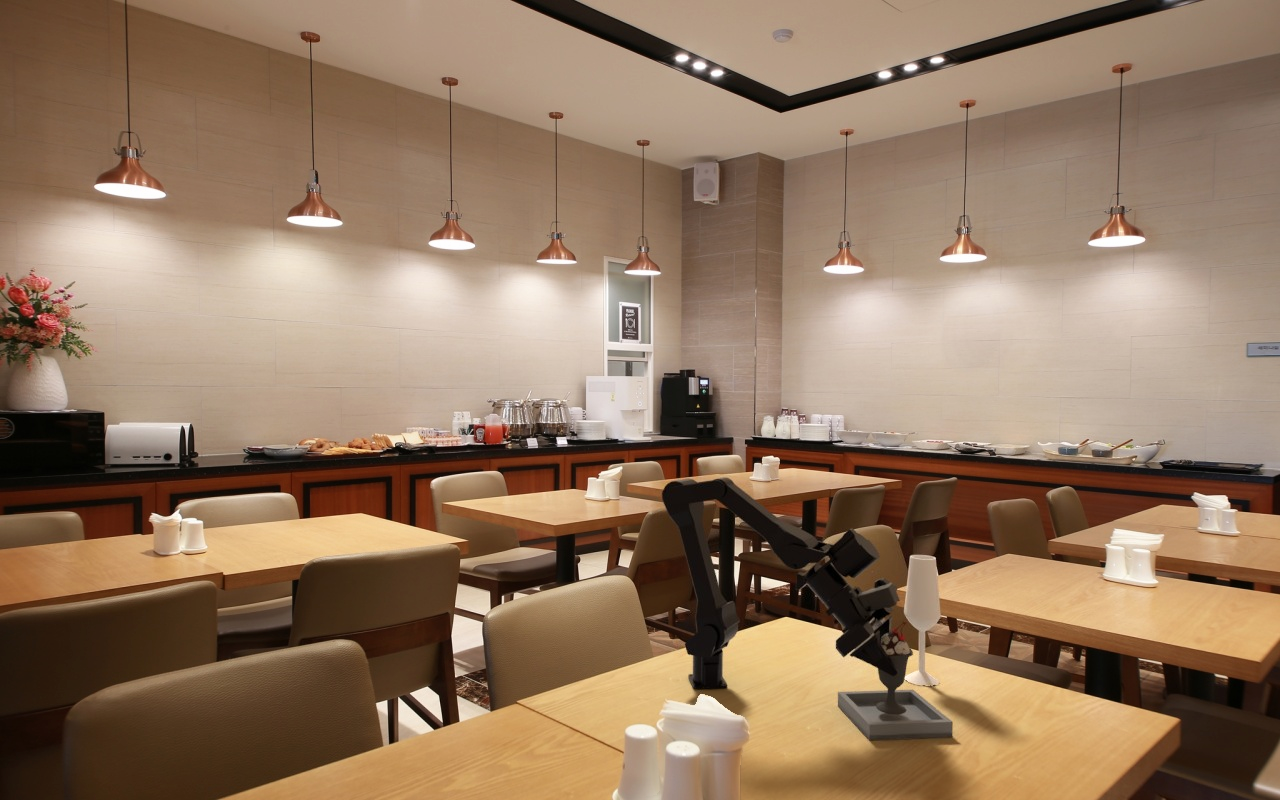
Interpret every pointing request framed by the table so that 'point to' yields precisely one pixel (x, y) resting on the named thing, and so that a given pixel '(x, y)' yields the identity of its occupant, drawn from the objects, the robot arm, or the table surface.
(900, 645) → the sundae
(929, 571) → the champagne flute
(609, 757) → the table surface
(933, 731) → the tray
